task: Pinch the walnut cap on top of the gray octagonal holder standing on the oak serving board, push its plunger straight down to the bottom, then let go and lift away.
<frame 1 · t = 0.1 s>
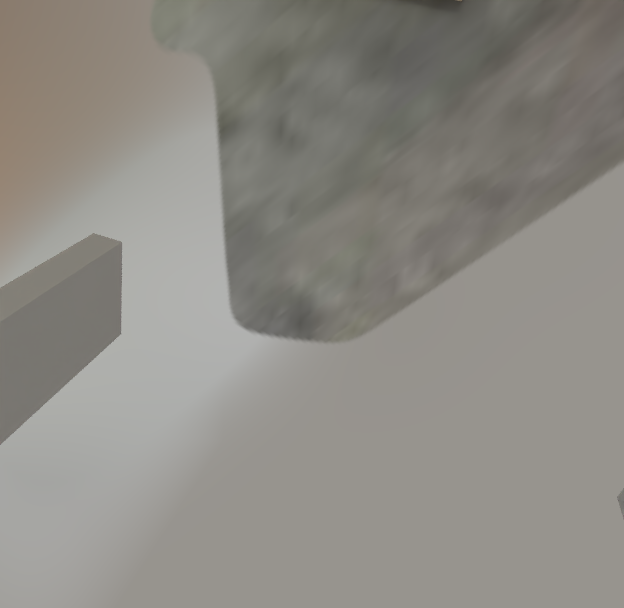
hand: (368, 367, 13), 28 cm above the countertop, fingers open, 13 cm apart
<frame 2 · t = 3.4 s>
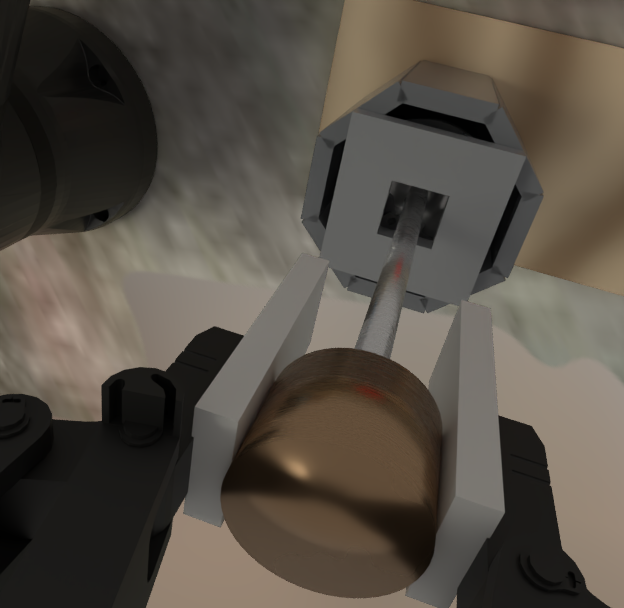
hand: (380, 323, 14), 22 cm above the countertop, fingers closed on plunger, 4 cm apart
board: (500, 148, 32), on the countertop
plunger: (394, 275, 17), point 19 cm above the countertop, slide at 0.0 cm, touching gripper
gray octagonal holder: (430, 151, 32), resting on board
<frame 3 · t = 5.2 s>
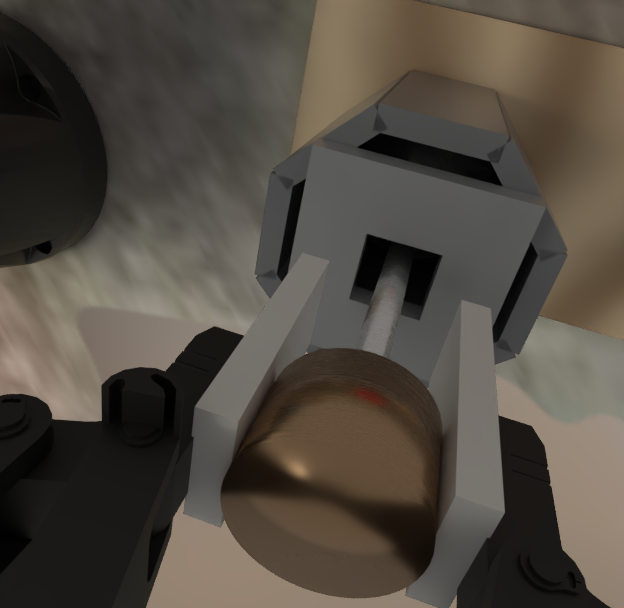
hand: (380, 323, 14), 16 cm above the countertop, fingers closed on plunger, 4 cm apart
board: (506, 174, 27), on the countertop
plunger: (394, 275, 17), point 13 cm above the countertop, slide at 6.2 cm, touching gripper
gray octagonal holder: (422, 178, 27), resting on board
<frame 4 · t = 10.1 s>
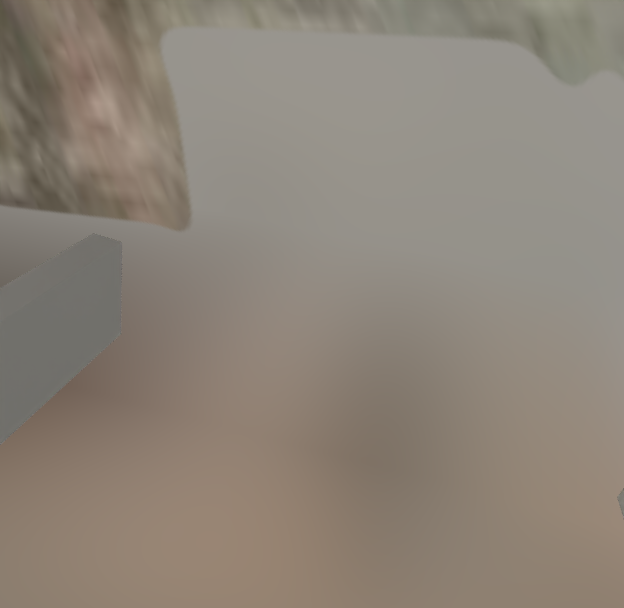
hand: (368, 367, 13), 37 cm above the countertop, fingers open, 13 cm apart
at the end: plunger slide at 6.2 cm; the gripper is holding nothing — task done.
